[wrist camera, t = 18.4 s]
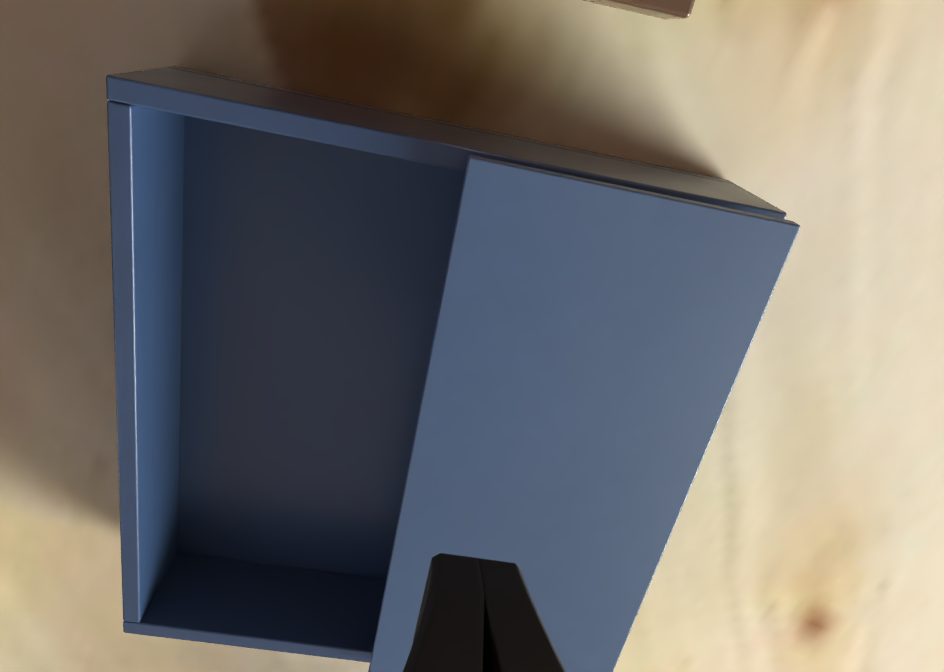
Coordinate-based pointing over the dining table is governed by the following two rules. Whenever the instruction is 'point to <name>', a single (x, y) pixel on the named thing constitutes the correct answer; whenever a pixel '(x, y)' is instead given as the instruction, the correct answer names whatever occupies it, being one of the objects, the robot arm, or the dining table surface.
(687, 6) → the square board
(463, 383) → the flap
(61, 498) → the dining table surface
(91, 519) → the dining table surface
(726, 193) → the carton
